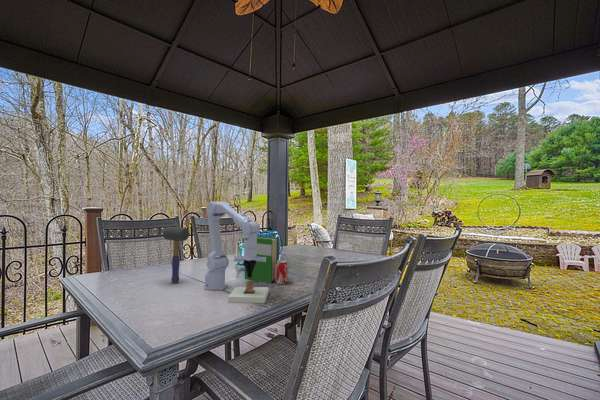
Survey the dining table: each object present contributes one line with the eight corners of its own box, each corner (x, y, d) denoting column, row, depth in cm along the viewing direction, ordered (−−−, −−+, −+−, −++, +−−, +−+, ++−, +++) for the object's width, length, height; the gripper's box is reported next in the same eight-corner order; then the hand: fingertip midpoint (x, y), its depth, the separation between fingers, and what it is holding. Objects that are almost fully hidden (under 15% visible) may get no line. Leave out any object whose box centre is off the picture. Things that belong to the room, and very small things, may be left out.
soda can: (283, 285, 146) (283, 263, 146) (272, 283, 150) (272, 261, 150) (290, 282, 152) (290, 260, 152) (280, 280, 156) (280, 259, 156)
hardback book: (277, 280, 156) (278, 237, 156) (270, 283, 150) (271, 239, 150) (252, 275, 164) (253, 235, 164) (244, 279, 158) (245, 236, 158)
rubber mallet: (160, 283, 147) (161, 226, 147) (171, 279, 154) (172, 225, 154) (179, 285, 143) (180, 227, 143) (189, 281, 150) (190, 226, 150)
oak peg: (244, 298, 126) (244, 283, 126) (246, 295, 130) (246, 280, 130) (252, 298, 126) (252, 283, 126) (254, 295, 130) (254, 281, 130)
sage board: (228, 302, 121) (228, 296, 121) (236, 291, 135) (236, 286, 135) (264, 303, 121) (264, 297, 121) (268, 292, 135) (268, 287, 135)
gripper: (232, 248, 124) (232, 279, 124) (264, 249, 124) (264, 279, 124) (236, 246, 131) (235, 274, 131) (266, 246, 131) (266, 275, 131)
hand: (249, 277), depth 128 cm, fingers closed
